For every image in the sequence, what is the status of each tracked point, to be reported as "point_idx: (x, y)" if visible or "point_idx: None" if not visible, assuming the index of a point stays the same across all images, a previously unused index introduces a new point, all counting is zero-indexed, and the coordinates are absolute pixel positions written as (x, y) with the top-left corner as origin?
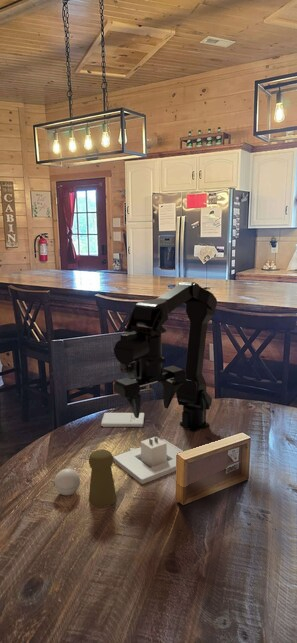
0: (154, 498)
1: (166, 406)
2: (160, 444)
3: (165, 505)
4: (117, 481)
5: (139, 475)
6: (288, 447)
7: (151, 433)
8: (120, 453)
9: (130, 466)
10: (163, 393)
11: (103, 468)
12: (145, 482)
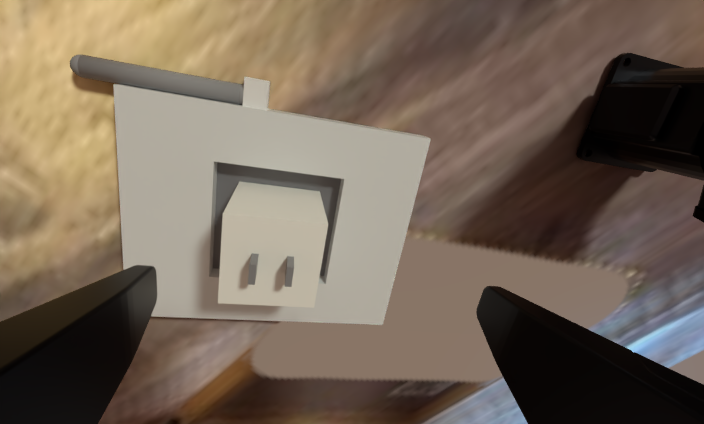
0: (125, 375)
1: (486, 324)
2: (283, 299)
3: (133, 412)
4: (55, 232)
5: None
6: None
7: (467, 10)
8: (176, 80)
9: (142, 217)
10: (606, 367)
11: None
12: None
